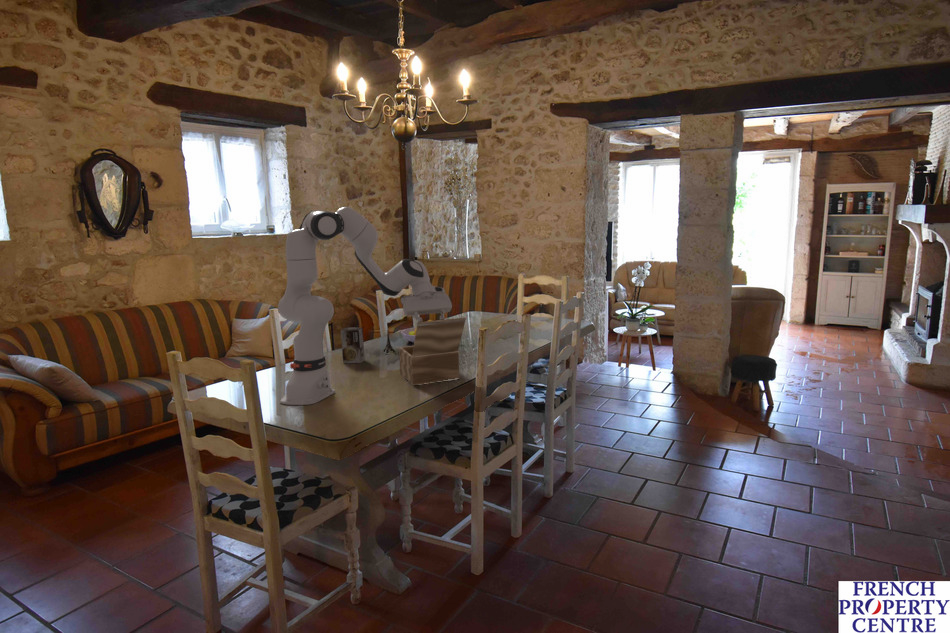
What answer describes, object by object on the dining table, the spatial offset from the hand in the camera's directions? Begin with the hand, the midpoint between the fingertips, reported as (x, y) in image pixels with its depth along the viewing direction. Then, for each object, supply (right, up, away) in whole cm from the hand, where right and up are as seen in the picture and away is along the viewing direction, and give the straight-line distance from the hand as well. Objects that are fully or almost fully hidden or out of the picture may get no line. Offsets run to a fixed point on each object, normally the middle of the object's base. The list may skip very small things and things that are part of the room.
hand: (431, 321), depth 234 cm
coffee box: (-40, -20, +40) cm, 60 cm away
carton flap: (+3, -6, -6) cm, 9 cm away
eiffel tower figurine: (-26, -17, +57) cm, 65 cm away
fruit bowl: (-8, -12, +79) cm, 81 cm away
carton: (-2, -24, +11) cm, 26 cm away
